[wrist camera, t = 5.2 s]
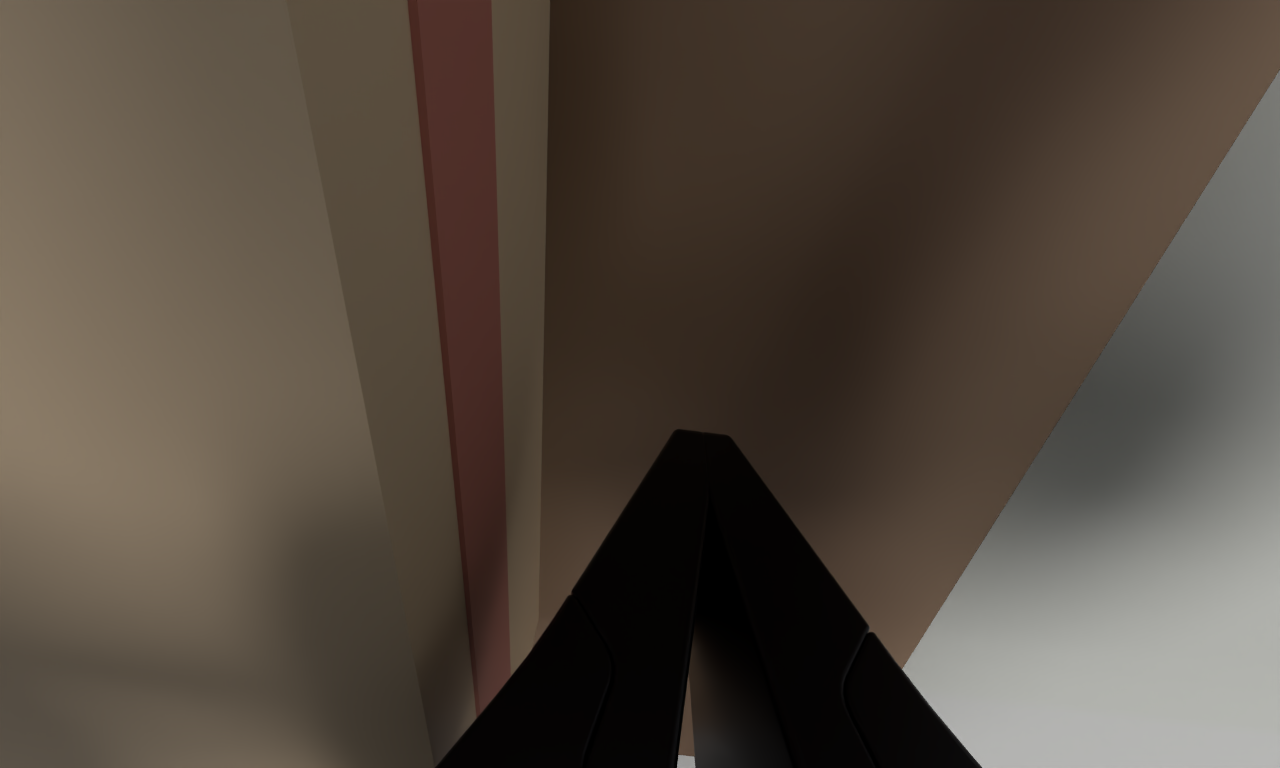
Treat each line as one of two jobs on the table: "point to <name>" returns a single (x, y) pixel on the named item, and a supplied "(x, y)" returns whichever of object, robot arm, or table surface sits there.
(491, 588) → the kraft carton
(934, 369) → the display board
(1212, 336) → the table surface
